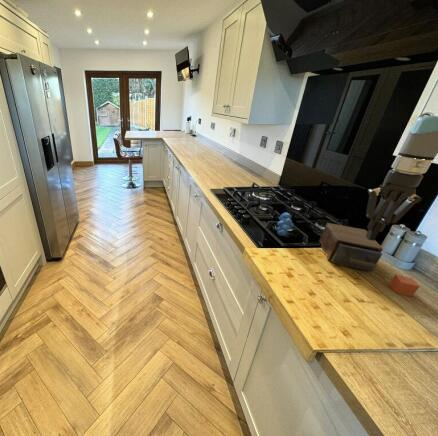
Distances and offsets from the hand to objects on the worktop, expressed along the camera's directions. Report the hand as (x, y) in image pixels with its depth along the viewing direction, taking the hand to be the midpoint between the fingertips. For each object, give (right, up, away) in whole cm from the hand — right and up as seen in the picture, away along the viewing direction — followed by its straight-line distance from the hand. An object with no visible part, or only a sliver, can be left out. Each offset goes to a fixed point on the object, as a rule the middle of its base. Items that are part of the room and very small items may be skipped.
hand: (369, 238), depth 81 cm
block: (+8, -18, -2) cm, 20 cm away
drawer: (+2, -10, +11) cm, 15 cm away
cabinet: (+4, -8, +16) cm, 18 cm away
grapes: (-14, -1, +28) cm, 32 cm away
